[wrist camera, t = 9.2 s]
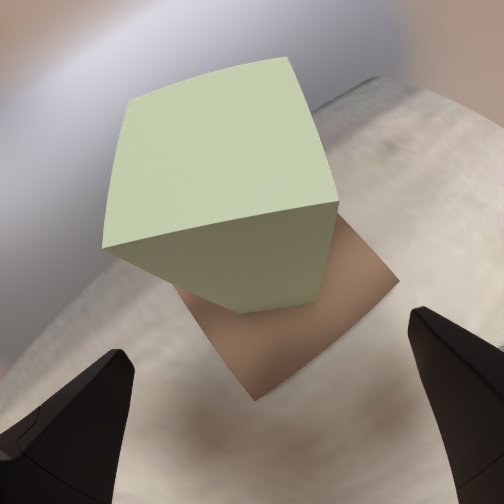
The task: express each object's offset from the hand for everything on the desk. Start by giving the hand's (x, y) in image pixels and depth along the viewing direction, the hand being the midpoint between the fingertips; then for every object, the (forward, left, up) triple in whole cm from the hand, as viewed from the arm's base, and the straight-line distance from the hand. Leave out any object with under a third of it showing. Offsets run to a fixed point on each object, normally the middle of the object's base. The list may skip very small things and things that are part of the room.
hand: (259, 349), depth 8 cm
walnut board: (+4, -2, -10) cm, 11 cm away
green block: (+4, -2, -8) cm, 9 cm away
